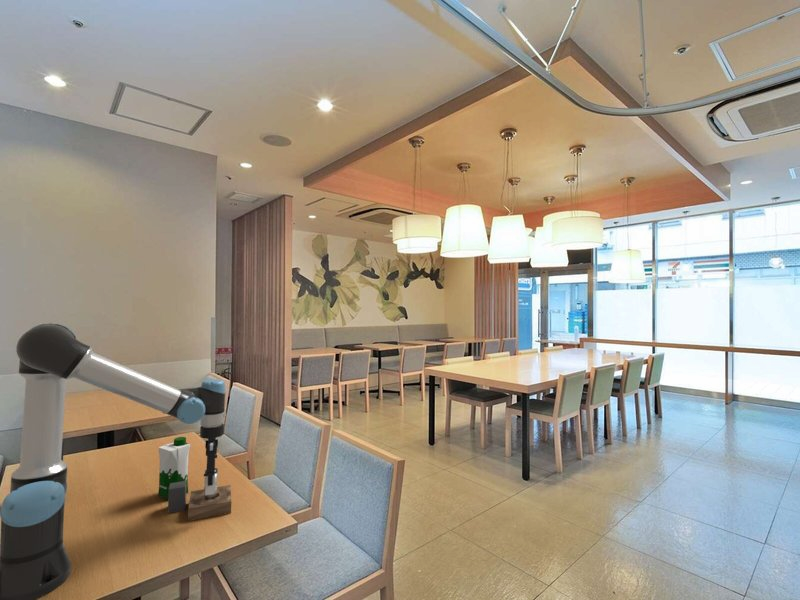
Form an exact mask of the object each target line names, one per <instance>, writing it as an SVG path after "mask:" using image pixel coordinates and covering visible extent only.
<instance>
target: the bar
mask: <svg viewBox="0 0 800 600" xmlns="http://www.w3.org/2000/svg"><path fill="white" fill-rule="evenodd" d="M186 505H187V493H186V481H182V482H176V483H170V486H169V493H168V499H167V513H168V514H170V513H176V512H183V511H185V509H186Z"/></svg>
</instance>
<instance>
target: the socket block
mask: <svg viewBox="0 0 800 600" xmlns="http://www.w3.org/2000/svg"><path fill="white" fill-rule="evenodd" d="M231 488H232V487H231V484H229V485H223V486H217V498H215V499H212V500H204V490H205V488H203V489H197V490H191V491H190V493H189V494H190V495H189V501H188V508H187V522H188V521H189V520H190V521H195V520H200V519H205V518H211V517H210V516H212V517H216V515H217V516H221V515H220V514H222V515H226V514H225V513H228V514H230V513H229V512H231V513H232V489H231Z"/></svg>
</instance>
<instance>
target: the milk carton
mask: <svg viewBox="0 0 800 600" xmlns="http://www.w3.org/2000/svg"><path fill="white" fill-rule="evenodd" d="M191 445H192V444H190V443H187V437H186V436H180V437H179V436H178V437H175V438H174V439H173V442H170V443H167V444H164V445H161V446H159V447H157V448H158V449H157V450H158V455H159V456H158V457H159V470H158V471H159V475H158V478H159V479H158V480H159V482H158V494H157V495H158V497H160V498H164V499H165V500H168V493H169V486H170V483H176V482H182V481H186V494H188V493H189V481H188V480H189V479H188V477H189V473H188V472H189V454H190V449H191Z"/></svg>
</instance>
